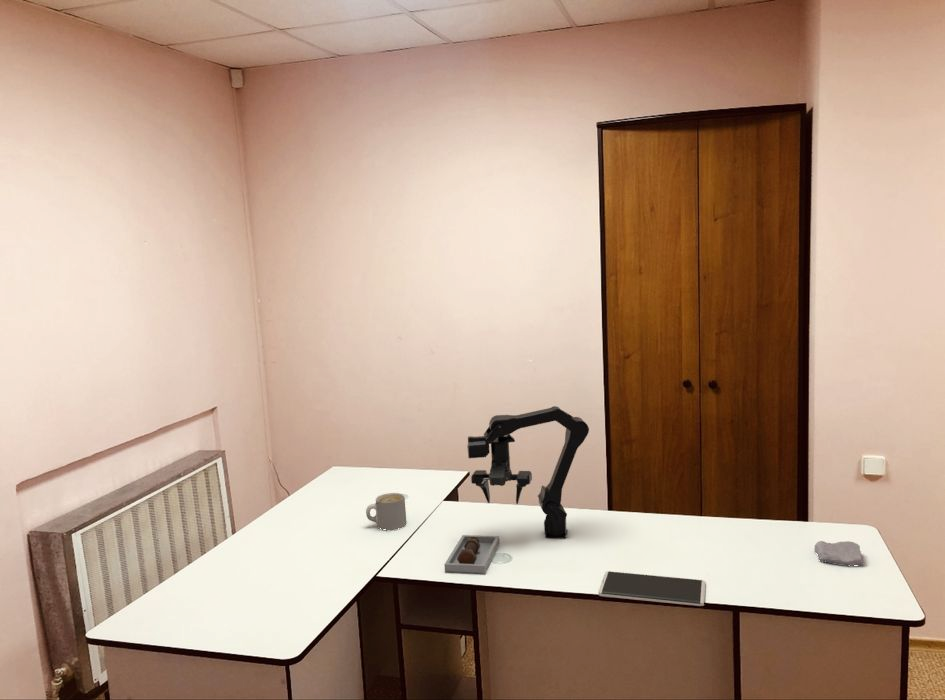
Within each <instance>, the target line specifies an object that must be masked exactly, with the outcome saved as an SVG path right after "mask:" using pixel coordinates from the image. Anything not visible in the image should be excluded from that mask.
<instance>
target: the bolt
mask: <svg viewBox="0 0 945 700" xmlns="http://www.w3.org/2000/svg"><path fill="white" fill-rule="evenodd" d="M464 548H465V549H462V550H461V552H460V554H459V556H458V558H457V560H458V562H459V564H474V563H475V561H476V559H477V557H476V555H475V554H476V553H477V551H478V550H479V548H480V543H479V539H478V538H476V537H471V538H469V539H468V540H467V542H466V544H465V546H464Z"/></svg>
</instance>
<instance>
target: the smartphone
mask: <svg viewBox="0 0 945 700" xmlns="http://www.w3.org/2000/svg"><path fill="white" fill-rule="evenodd" d="M705 585H706V581H705V580H703V579H696V578H695V579H693V578H684V577H683V578H682V577H672V576H663V575H662V576H661V575H651V574H650V575H649V574H639V573H631V572H620V571H605V573H604V574H603V577H602V580H601V583H600V587H599V589H598V593H597V594H598V596H599V597H605V598H616V599H625V600H626V599H628V600H635V601H643V602H645V601H647V602H656V603H657V602H658V603H668V604H677V605H687V606H695V607H696V606H697V607H703V606H705V604H704V602H705V599H706V586H705ZM705 603H706V602H705Z"/></svg>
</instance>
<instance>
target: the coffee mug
mask: <svg viewBox="0 0 945 700" xmlns="http://www.w3.org/2000/svg"><path fill="white" fill-rule="evenodd" d="M372 509H374V510H375V516H372V515H371V510H372ZM406 509H407V508H406V498H405V495H404V494H403V493H400V492H388V493H383V494H380V495H378V496H376V497H375V503H371V504H369V505H367V507H366V509H365V510H366V511H365V515H366V517H367V519H368V520H369V521H371V522H374V523H376V524H377V525H376V526H377V528H378V527H379V528H381V529H386V530H394V529H398V528H402V527H404V526H405V525H406V524H407V511H406ZM406 526H407V525H406ZM406 526H405V527H406ZM405 527H404V528H405ZM379 528H378V529H379ZM402 529H403V528H402ZM394 531H395V530H394Z"/></svg>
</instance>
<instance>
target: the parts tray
mask: <svg viewBox="0 0 945 700" xmlns="http://www.w3.org/2000/svg"><path fill="white" fill-rule="evenodd" d="M471 537H476V538H478V539H479V543H480V548H479V550H478V551H477V553H476V554H475V555H476V557H477V559H476V561H475V563H474V564H459V562H458V560H457V558H458V556H459V554H460V552H461V550H462V549H465V548H464V546H465V544H466V542H467V540H468V539H469V538H471ZM500 542H501V541H500V535H498V536H497V535H470V534H462V535H461V537H460V539H459V541H458V542H457V544H456V545H455V546H454V548H453V550H452V552H451V553H450V554H449V556H448V558H447V559H446V561H445V562H444V573H445V574H447V573H451V574H469V575H470V574H471V575H486V573H487V571H488V569H489V567H490V565H491V562H492V561H493V558H494V557H495V554H496V553H497V550H498V548H499V546H500V545H501V543H500Z"/></svg>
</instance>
